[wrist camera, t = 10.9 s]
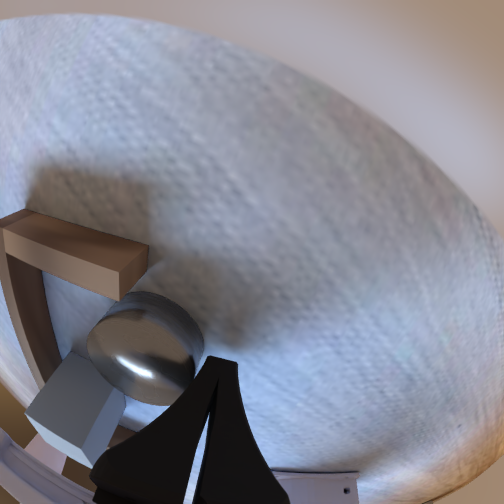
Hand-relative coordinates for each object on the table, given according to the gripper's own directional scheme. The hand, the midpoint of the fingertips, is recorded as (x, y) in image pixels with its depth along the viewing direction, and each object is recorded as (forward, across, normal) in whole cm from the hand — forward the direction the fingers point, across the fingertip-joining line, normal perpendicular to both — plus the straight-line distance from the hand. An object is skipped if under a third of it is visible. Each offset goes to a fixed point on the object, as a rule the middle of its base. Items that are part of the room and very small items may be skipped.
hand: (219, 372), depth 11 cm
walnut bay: (+1, +8, +5) cm, 9 cm away
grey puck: (+1, +4, 0) cm, 4 cm away
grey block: (+1, +8, +7) cm, 10 cm away
